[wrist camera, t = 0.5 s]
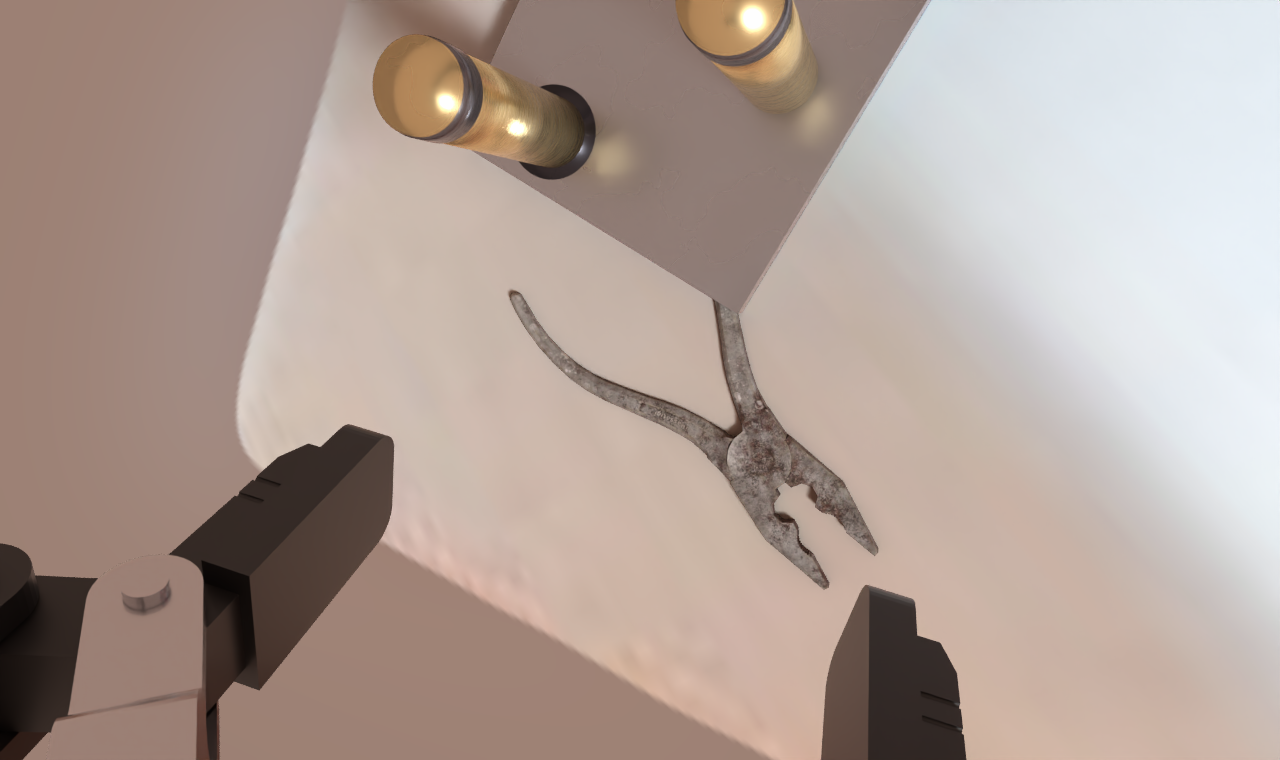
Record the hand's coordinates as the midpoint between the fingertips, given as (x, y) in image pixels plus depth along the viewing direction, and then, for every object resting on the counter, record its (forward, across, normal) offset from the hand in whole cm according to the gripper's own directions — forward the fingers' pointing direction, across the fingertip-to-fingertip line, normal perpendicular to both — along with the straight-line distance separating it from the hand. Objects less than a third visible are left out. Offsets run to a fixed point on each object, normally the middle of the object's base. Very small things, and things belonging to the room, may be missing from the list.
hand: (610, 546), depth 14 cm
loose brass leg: (+25, +1, -4) cm, 25 cm away
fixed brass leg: (+24, +10, +1) cm, 26 cm away
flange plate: (+26, +5, -3) cm, 27 cm away
